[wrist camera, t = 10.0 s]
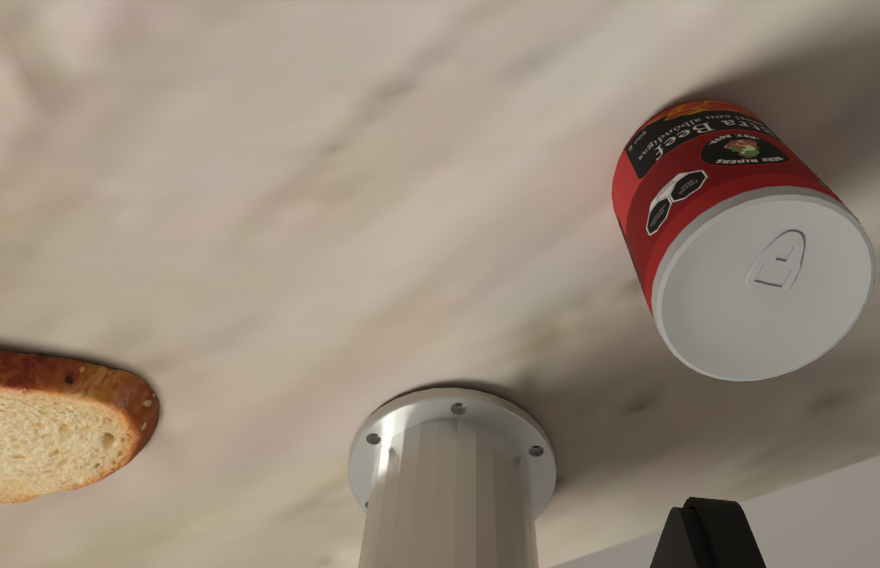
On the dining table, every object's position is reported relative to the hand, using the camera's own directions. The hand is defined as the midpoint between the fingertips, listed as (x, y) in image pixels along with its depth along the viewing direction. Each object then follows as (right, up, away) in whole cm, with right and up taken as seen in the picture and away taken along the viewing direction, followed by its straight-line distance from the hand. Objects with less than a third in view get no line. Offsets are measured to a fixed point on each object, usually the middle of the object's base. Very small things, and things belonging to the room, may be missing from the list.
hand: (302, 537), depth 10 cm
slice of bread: (-26, -4, +36) cm, 45 cm away
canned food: (+14, +9, +27) cm, 31 cm away
